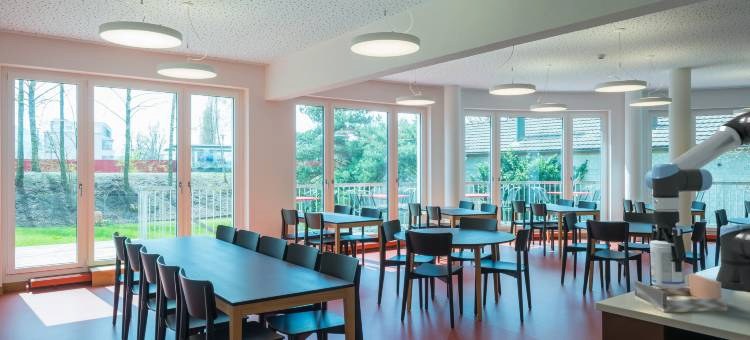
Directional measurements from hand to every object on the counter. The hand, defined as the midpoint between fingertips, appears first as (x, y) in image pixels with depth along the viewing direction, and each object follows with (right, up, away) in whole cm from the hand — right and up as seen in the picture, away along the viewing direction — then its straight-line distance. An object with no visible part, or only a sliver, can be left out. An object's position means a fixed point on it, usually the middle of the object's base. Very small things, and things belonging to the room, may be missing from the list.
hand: (667, 278), depth 170 cm
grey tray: (+4, -9, 0) cm, 9 cm away
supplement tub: (0, -3, 0) cm, 3 cm away
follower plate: (+12, -7, 0) cm, 14 cm away
